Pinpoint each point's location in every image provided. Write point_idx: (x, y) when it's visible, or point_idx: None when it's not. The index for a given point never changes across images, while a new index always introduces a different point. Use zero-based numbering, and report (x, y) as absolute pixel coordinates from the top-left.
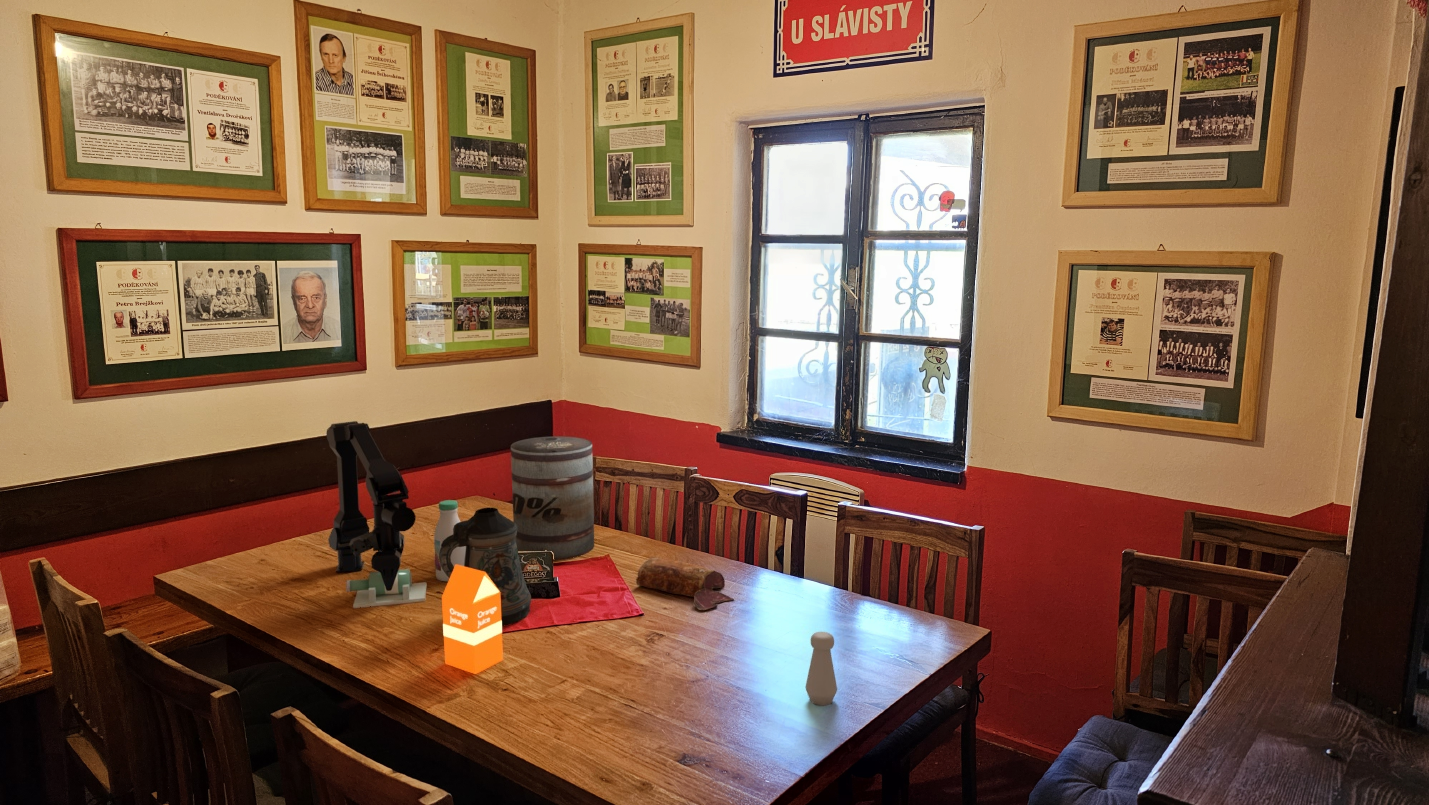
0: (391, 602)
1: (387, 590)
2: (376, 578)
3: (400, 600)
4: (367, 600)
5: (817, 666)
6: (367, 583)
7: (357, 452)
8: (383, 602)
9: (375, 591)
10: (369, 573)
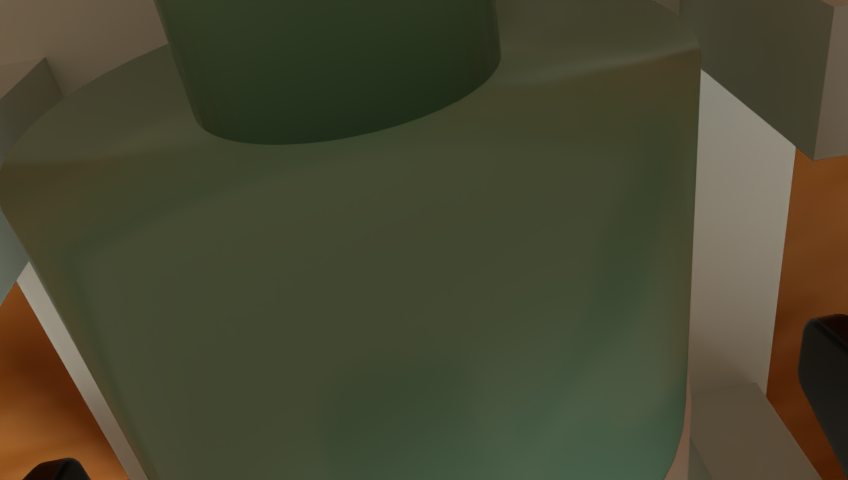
0: (85, 373)
1: (46, 474)
2: (132, 433)
3: (129, 473)
4: (55, 3)
5: None
6: (188, 69)
7: None
8: (31, 291)
9: (18, 260)
10: (286, 273)
